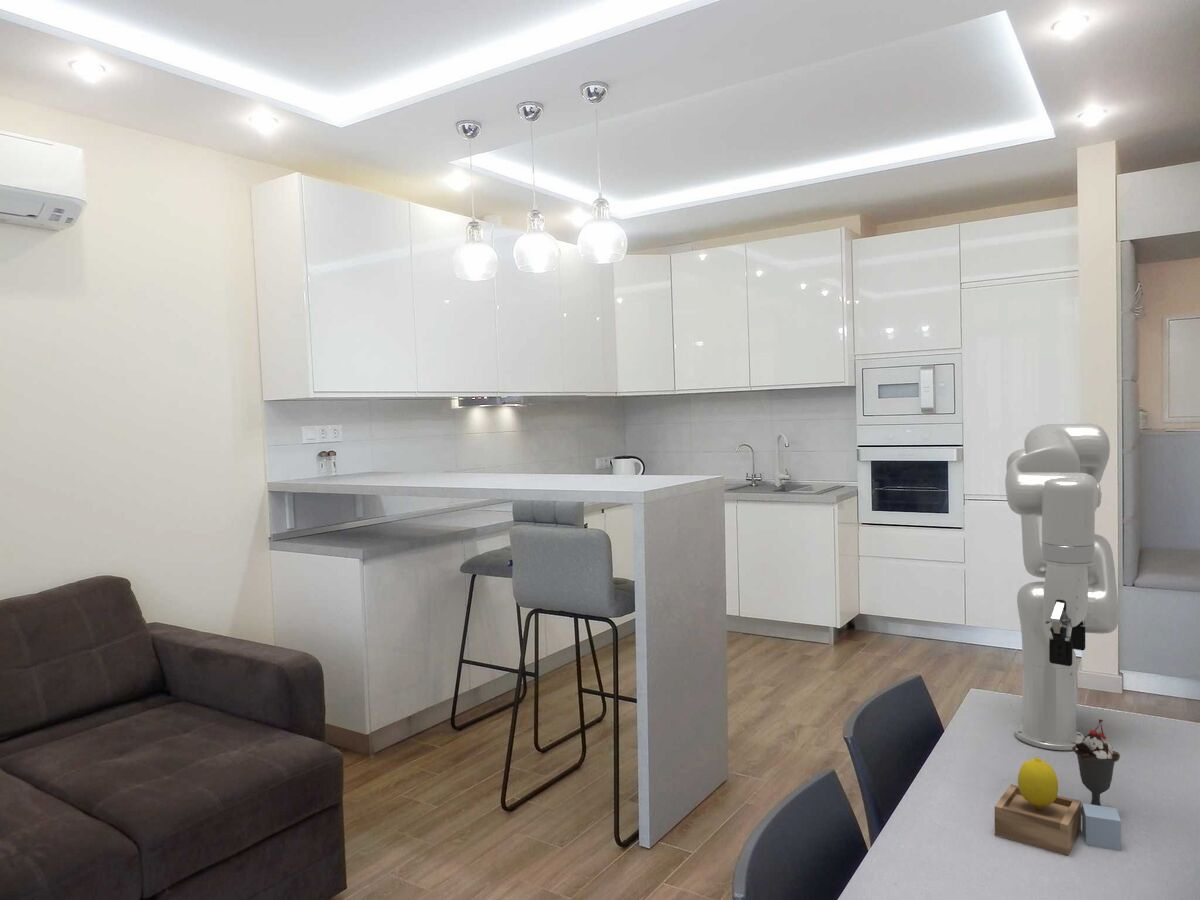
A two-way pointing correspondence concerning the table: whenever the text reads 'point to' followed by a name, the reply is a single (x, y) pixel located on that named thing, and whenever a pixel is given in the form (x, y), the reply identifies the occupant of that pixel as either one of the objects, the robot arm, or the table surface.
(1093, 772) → the sundae
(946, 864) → the table surface
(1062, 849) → the wooden open box
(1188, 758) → the table surface
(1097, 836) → the slate cube
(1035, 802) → the lemon
